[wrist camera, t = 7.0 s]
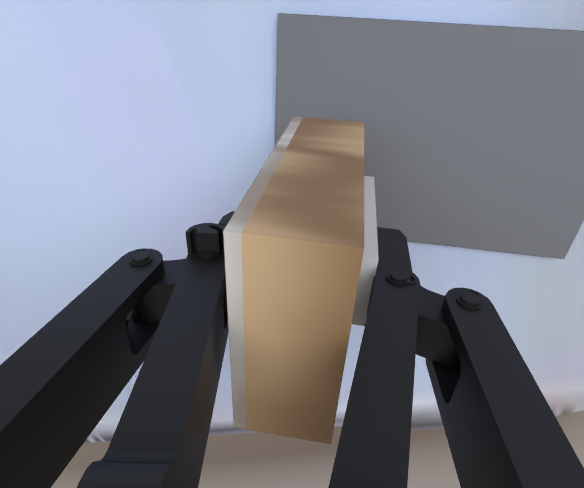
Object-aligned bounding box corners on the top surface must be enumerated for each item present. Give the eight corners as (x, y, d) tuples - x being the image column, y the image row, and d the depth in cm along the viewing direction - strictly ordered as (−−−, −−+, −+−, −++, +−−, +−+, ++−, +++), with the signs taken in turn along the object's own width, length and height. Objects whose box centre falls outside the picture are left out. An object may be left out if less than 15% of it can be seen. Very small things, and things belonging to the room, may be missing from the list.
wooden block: (287, 252, 21) (233, 427, 12) (293, 116, 17) (222, 230, 8) (344, 260, 20) (330, 444, 12) (364, 122, 17) (364, 247, 8)
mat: (274, 221, 26) (273, 225, 26) (279, 13, 20) (277, 13, 19) (560, 253, 24) (564, 259, 24) (666, 35, 18) (675, 37, 18)
